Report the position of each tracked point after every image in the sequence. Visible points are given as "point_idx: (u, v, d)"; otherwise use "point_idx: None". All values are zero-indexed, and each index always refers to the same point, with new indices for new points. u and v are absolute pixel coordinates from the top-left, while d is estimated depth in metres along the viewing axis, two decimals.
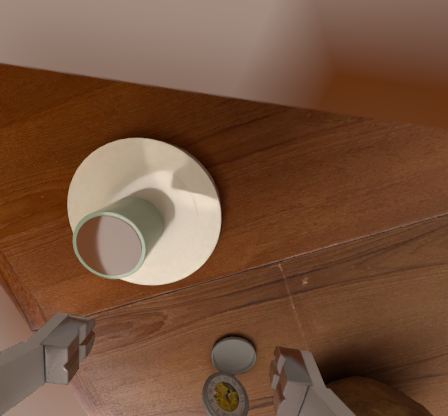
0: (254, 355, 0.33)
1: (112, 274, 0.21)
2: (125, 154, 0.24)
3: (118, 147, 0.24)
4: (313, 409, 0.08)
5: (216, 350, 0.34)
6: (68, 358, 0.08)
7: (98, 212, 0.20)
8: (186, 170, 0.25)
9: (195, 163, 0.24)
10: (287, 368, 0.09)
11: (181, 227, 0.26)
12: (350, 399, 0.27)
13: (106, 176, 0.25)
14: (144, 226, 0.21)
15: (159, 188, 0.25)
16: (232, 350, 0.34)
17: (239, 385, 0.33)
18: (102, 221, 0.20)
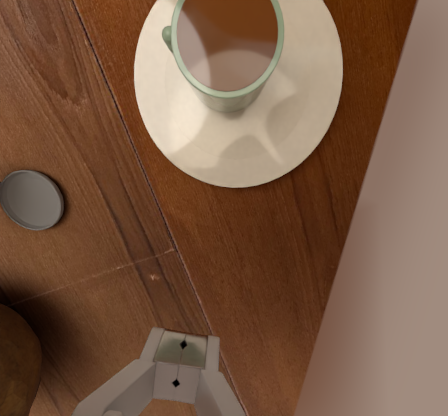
0: (39, 227, 0.25)
1: (178, 35, 0.13)
2: (323, 65, 0.19)
3: (333, 56, 0.19)
4: (202, 393, 0.08)
5: (34, 176, 0.24)
6: (177, 374, 0.08)
7: (282, 24, 0.13)
8: (296, 146, 0.21)
9: (304, 158, 0.21)
10: (185, 352, 0.09)
11: (224, 137, 0.21)
12: (15, 353, 0.22)
13: (296, 32, 0.18)
14: (250, 95, 0.15)
15: (276, 109, 0.20)
16: (40, 198, 0.25)
17: None
18: (269, 30, 0.13)
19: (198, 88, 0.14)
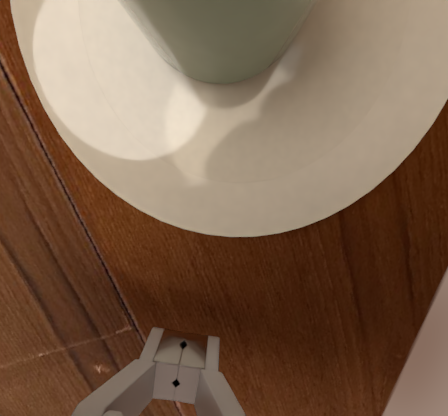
0: None
1: None
2: None
3: None
4: (202, 393, 0.08)
5: None
6: (177, 374, 0.08)
7: None
8: (365, 158, 0.10)
9: (378, 180, 0.10)
10: (185, 353, 0.09)
11: (213, 137, 0.10)
12: None
13: None
14: None
15: (327, 77, 0.09)
16: None
17: None
18: None
19: None
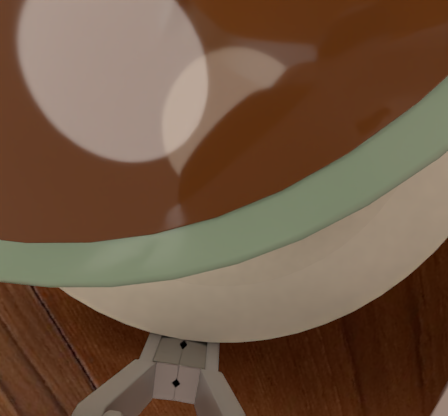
0: None
1: None
2: None
3: None
4: (202, 393, 0.08)
5: None
6: (177, 374, 0.08)
7: None
8: (374, 261, 0.08)
9: (390, 286, 0.08)
10: (185, 353, 0.09)
11: None
12: None
13: None
14: None
15: None
16: None
17: None
18: None
19: None
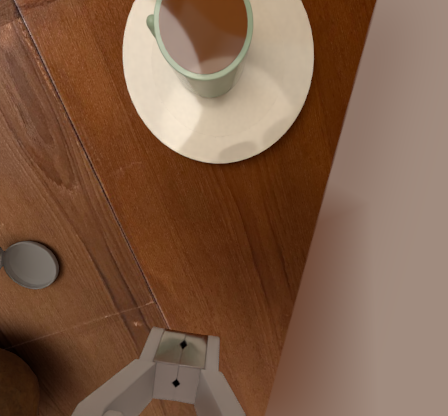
0: (37, 286, 0.29)
1: (160, 22, 0.15)
2: (296, 50, 0.21)
3: (305, 42, 0.21)
4: (202, 393, 0.08)
5: (33, 245, 0.28)
6: (177, 374, 0.08)
7: (251, 16, 0.15)
8: (273, 125, 0.23)
9: (279, 136, 0.23)
10: (185, 353, 0.09)
11: (206, 115, 0.22)
12: (18, 397, 0.27)
13: (271, 19, 0.20)
14: (225, 79, 0.17)
15: (254, 90, 0.22)
16: (38, 262, 0.29)
17: None
18: (239, 20, 0.15)
19: (178, 71, 0.16)
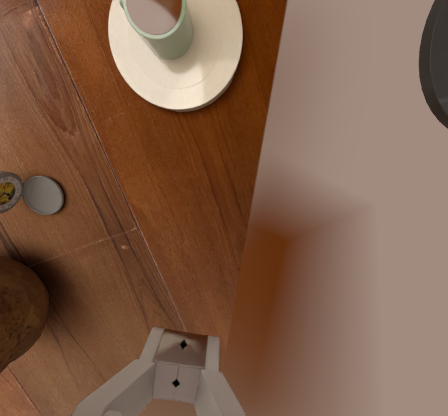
0: (48, 213, 0.39)
1: (127, 1, 0.24)
2: (230, 24, 0.30)
3: (235, 18, 0.29)
4: (202, 393, 0.08)
5: (45, 180, 0.37)
6: (177, 374, 0.08)
7: None
8: (217, 80, 0.31)
9: (222, 88, 0.32)
10: (185, 352, 0.09)
11: (168, 73, 0.31)
12: (33, 290, 0.36)
13: (211, 2, 0.29)
14: (172, 39, 0.26)
15: (201, 53, 0.30)
16: (48, 194, 0.38)
17: (14, 202, 0.36)
18: None
19: (139, 33, 0.25)
